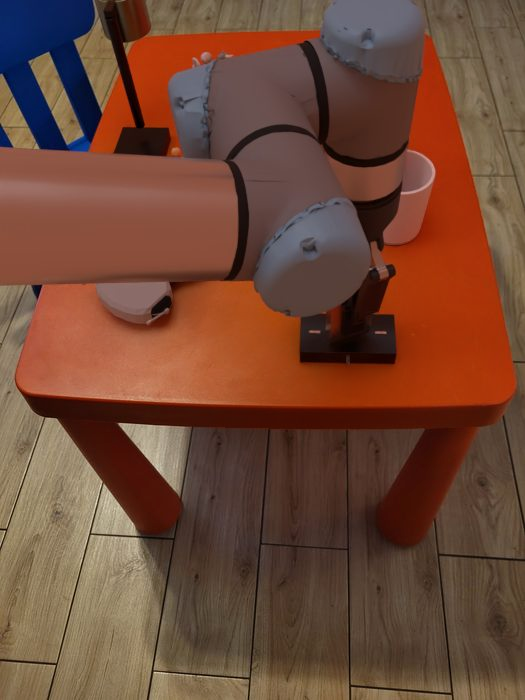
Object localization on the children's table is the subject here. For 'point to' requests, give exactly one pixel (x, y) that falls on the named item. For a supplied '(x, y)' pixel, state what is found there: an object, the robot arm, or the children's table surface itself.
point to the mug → (411, 199)
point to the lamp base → (143, 141)
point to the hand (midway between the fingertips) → (348, 323)
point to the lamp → (125, 40)
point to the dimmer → (349, 342)
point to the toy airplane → (209, 58)
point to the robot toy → (136, 300)
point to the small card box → (340, 325)
